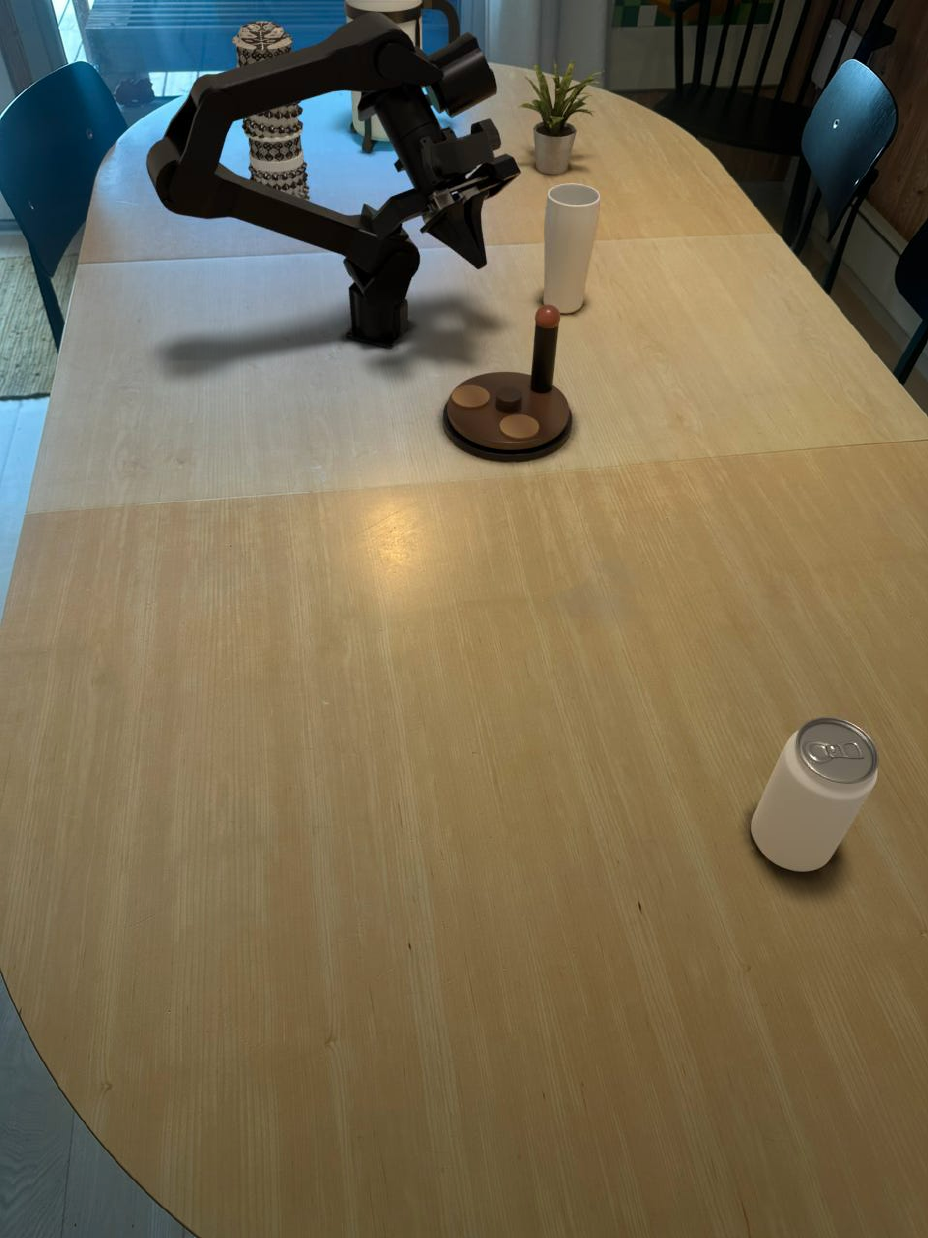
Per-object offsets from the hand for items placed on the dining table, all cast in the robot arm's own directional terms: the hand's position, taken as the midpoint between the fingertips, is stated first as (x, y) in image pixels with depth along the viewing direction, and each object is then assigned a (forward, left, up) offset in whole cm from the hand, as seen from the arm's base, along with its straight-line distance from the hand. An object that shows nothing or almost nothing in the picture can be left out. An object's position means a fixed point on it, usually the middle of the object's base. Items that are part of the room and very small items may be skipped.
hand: (482, 266), depth 111 cm
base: (+7, -9, -13) cm, 18 cm away
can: (+46, -52, -13) cm, 71 cm away
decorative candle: (-43, +29, -13) cm, 53 cm away
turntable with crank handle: (+7, -9, -12) cm, 17 cm away
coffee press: (-39, +62, -13) cm, 74 cm away
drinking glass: (+5, +19, -13) cm, 23 cm away
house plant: (-9, +60, -13) cm, 62 cm away
